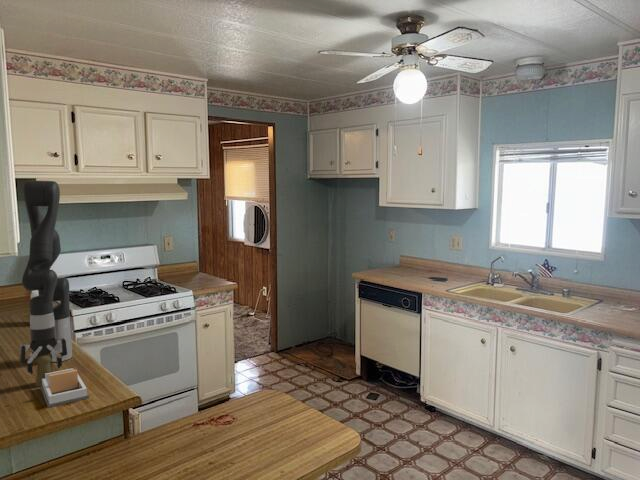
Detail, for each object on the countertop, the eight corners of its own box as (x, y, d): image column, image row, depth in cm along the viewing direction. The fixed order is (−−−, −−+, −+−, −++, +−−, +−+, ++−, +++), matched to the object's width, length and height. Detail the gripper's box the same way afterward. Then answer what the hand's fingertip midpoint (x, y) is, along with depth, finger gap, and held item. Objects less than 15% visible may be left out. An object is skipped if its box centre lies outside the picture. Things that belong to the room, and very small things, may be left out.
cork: (46, 387, 168) (44, 357, 167) (31, 385, 170) (29, 355, 168) (59, 380, 174) (57, 351, 173) (44, 379, 176) (43, 350, 174)
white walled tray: (40, 388, 168) (39, 374, 167) (78, 380, 175) (77, 367, 174) (47, 407, 153) (47, 392, 153) (88, 398, 160) (88, 383, 160)
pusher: (48, 390, 163) (47, 373, 163) (76, 384, 168) (75, 367, 168) (50, 393, 161) (49, 376, 160) (78, 387, 166) (77, 370, 165)
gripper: (63, 320, 177) (65, 363, 178) (17, 326, 168) (20, 371, 170) (66, 324, 171) (69, 369, 172) (19, 331, 162) (22, 378, 164)
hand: (45, 370), depth 171 cm, fingers open, 8 cm apart
